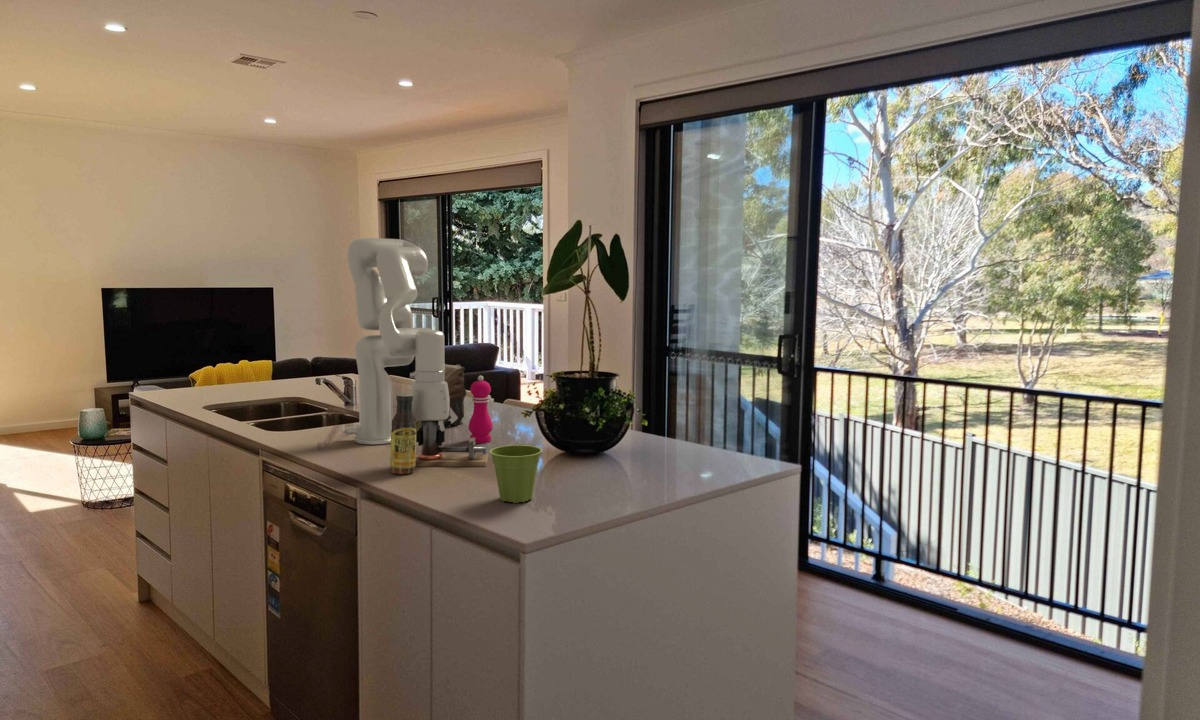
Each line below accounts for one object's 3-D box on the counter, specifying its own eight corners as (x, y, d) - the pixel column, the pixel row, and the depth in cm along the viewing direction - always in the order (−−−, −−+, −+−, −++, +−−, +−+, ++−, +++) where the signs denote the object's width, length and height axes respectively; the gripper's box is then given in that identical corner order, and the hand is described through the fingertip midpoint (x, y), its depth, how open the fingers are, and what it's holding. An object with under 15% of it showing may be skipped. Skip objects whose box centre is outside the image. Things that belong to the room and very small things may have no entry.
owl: (431, 420, 270) (431, 362, 268) (469, 420, 270) (469, 362, 268) (426, 427, 257) (425, 366, 255) (465, 427, 258) (465, 367, 256)
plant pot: (521, 489, 185) (522, 442, 184) (552, 500, 176) (553, 451, 175) (478, 497, 177) (478, 448, 176) (508, 510, 168) (509, 458, 167)
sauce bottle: (393, 476, 194) (392, 397, 192) (387, 471, 200) (386, 393, 198) (419, 474, 197) (419, 395, 195) (413, 468, 203) (412, 392, 201)
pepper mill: (495, 439, 240) (495, 374, 238) (489, 444, 233) (489, 377, 231) (472, 438, 241) (472, 373, 239) (465, 443, 234) (465, 376, 232)
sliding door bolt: (416, 460, 206) (416, 418, 205) (420, 454, 212) (420, 413, 211) (485, 460, 207) (485, 418, 206) (486, 454, 214) (487, 414, 212)
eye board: (400, 466, 205) (400, 443, 204) (407, 458, 214) (406, 436, 213) (485, 466, 206) (485, 443, 206) (488, 458, 215) (488, 436, 214)
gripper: (394, 378, 203) (395, 448, 205) (460, 379, 204) (461, 448, 206) (400, 375, 210) (400, 441, 212) (464, 375, 211) (464, 442, 213)
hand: (430, 444), depth 209 cm, fingers closed on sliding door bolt, 4 cm apart
